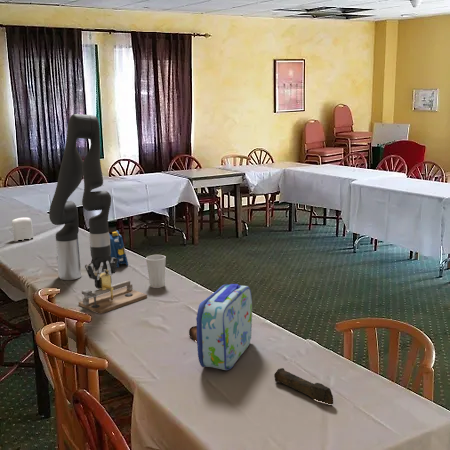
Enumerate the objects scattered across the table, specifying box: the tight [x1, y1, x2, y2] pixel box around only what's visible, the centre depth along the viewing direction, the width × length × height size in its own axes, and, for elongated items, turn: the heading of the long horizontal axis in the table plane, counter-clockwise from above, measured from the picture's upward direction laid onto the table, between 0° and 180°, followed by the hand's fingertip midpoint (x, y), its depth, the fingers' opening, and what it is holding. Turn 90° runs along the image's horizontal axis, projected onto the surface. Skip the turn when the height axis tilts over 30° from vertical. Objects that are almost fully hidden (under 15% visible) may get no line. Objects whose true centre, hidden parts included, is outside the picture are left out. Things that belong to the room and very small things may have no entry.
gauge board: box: [78, 279, 148, 315], centre depth 228 cm, size 14×22×6 cm, turn 137°
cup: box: [145, 254, 167, 289], centre depth 244 cm, size 8×8×12 cm
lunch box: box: [195, 283, 253, 371], centre depth 178 cm, size 26×11×21 cm, turn 160°
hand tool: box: [273, 367, 334, 405], centre depth 157 cm, size 19×4×5 cm, turn 39°
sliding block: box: [100, 272, 114, 300], centre depth 227 cm, size 8×4×9 cm, turn 47°
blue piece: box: [109, 230, 129, 269], centre depth 275 cm, size 13×15×15 cm
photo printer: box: [11, 216, 34, 242], centre depth 323 cm, size 10×4×12 cm, turn 117°
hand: (103, 286), depth 228 cm, fingers closed on sliding block, 4 cm apart
